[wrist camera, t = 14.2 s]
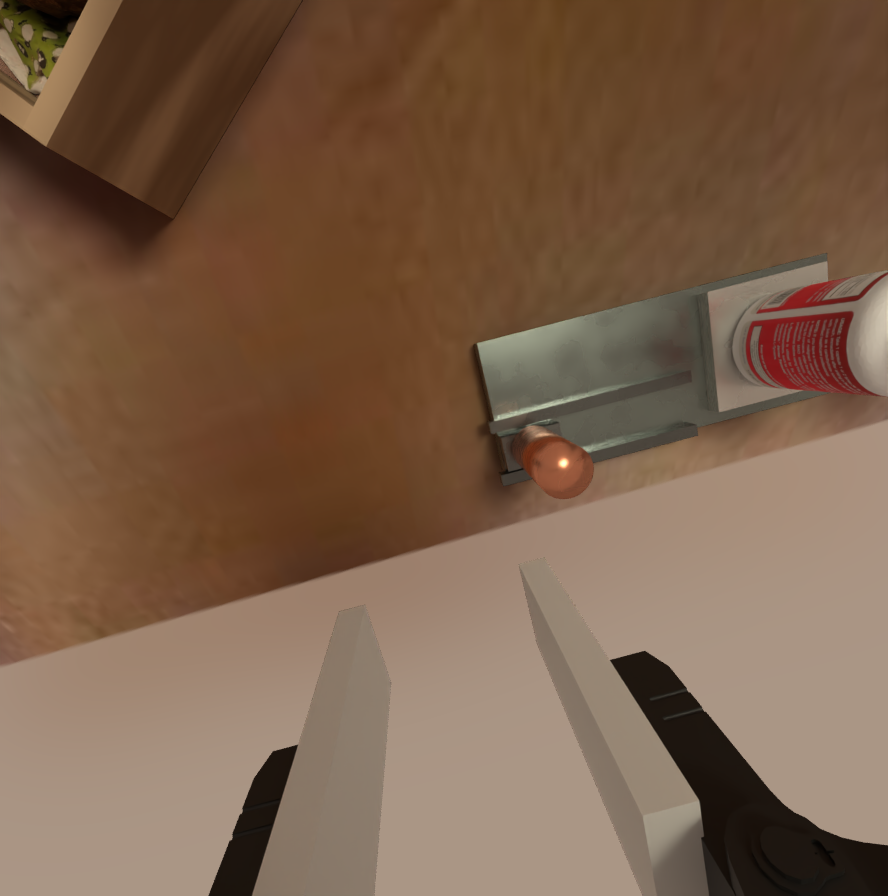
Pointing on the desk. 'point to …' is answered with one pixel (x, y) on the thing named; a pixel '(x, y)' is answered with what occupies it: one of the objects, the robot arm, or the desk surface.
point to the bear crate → (149, 89)
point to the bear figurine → (36, 36)
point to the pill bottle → (818, 337)
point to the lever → (548, 459)
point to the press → (636, 368)
